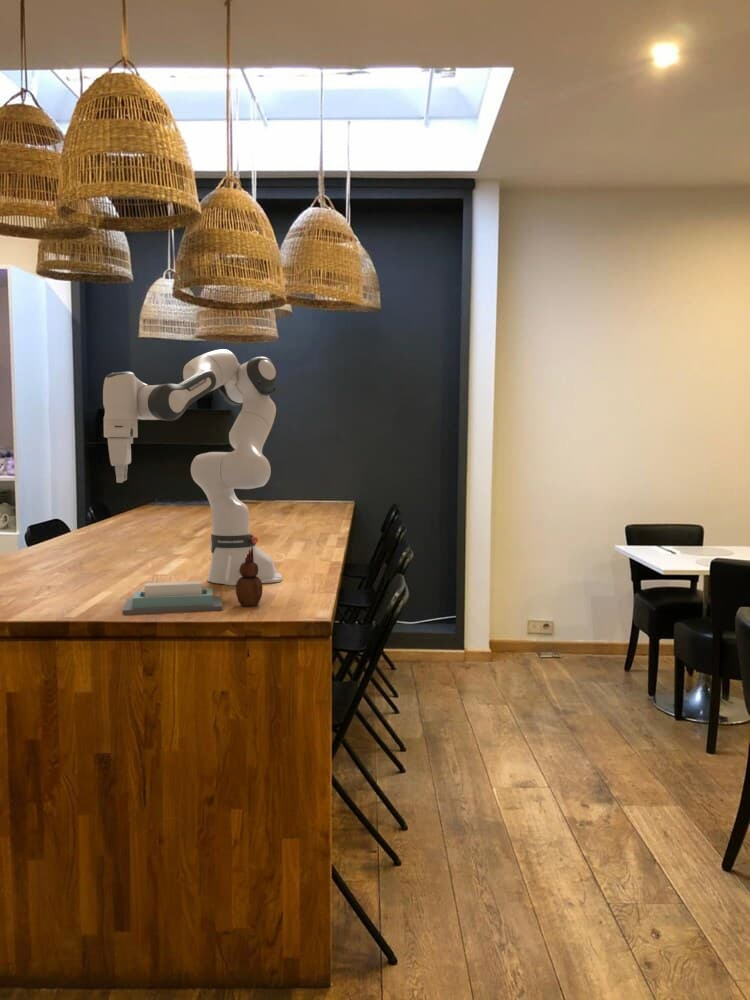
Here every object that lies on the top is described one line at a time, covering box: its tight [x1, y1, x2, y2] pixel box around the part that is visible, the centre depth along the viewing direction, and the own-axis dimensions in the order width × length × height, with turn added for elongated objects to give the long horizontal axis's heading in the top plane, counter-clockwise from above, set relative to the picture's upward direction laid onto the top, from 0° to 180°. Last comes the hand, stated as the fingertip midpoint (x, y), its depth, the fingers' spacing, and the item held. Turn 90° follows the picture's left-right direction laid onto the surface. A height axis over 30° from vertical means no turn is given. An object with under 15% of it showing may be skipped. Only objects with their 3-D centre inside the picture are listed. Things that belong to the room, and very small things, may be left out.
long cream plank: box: [144, 580, 203, 597], centre depth 195 cm, size 14×4×5 cm, turn 105°
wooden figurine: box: [235, 547, 263, 607], centre depth 197 cm, size 7×6×15 cm
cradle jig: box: [122, 587, 223, 615], centre depth 195 cm, size 24×13×4 cm, turn 103°
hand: (121, 481), depth 209 cm, fingers open, 8 cm apart
